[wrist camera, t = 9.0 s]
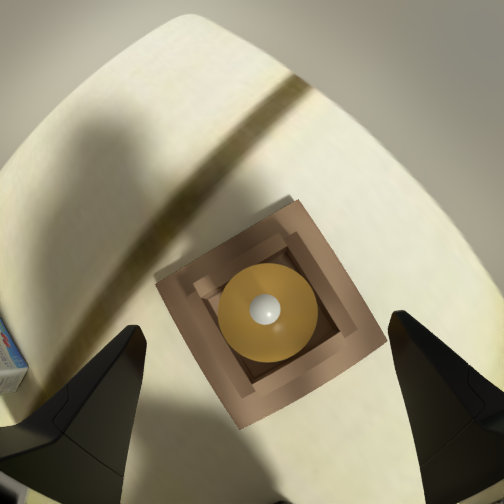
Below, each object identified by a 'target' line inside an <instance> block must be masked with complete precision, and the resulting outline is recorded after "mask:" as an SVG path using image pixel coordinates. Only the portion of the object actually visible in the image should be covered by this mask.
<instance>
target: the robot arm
mask: <svg viewBox="0 0 504 504" xmlns="http://www.w3.org/2000/svg"><path fill="white" fill-rule="evenodd" d="M388 335H389V340H390V345H391V350H392V356H393V361H394V366H395V371H396V374H397V378H398V381H399V385H400V388H401V392H402V395H403V399H404V403H405V406H406V410H407V414H408V418H409V422H410V426H411V430H412V434H413V438H414V443H415V447H416V452H417V457H418V461H419V466H420V472H421V478H422V483H423V489H424V495H425V501H426V504H457V503H459V504H504V392H503V391H502V390H500V389H499V388H498V387H496V386H495V385H494V384H492V383H491V382H490V381H488V380H487V379H486V378H484V377H483V376H482V375H481V374H480V373H479V372H477V371H476V370H475V369H474V368H473V367H472V366H470V365H468V363H467V362H466V361H465V360H463V359H462V358H461V357H460V356H459V355H458V354H457V353H455V352H454V351H453V350H452V349H451V348H450V347H448V346H447V345H446V344H445V343H444V342H442V341H441V340H440V339H439V338H438V337H436V336H435V335H434V334H433V333H432V332H430V331H429V330H428V329H427V328H426V327H424V326H423V325H422V324H421V323H420V322H418V321H417V320H416V319H415V318H413V317H412V316H411V315H410V314H409V313H407V312H406V311H404V310H398V311H394V312H393V313H392V316H391V319H390V323H389V326H388ZM146 348H147V342H146V339H145V337H144V334H143V332H142V330H141V328H140V326H138V325H128V326H126V327H125V328H124V329H123V330H122V331H121V332H120V333H119V334H118V335H117V336H116V337H115V338H113V339H112V340H111V341H110V342H109V343H108V344H107V345H106V346H105V347H104V348H103V349H102V350H101V351H100V352H99V353H98V354H96V355H95V356H94V357H93V358H92V359H91V360H90V361H89V362H88V363H87V364H86V365H85V366H84V367H83V368H82V369H81V370H80V371H79V372H78V373H77V374H76V375H75V376H73V377H72V378H71V379H70V380H69V381H68V384H67V383H66V384H65V385H64V386H63V387H62V388H61V389H60V390H59V391H58V392H57V393H56V394H55V395H54V396H52V397H51V398H50V399H49V400H48V401H47V402H45V403H44V404H43V405H42V406H41V407H39V408H38V409H37V410H36V411H35V412H33V413H32V414H31V415H30V416H28V417H27V418H26V419H25V420H23V421H22V422H20V423H18V424H16V425H13V426H6V427H0V504H120V500H121V493H122V486H123V479H124V478H123V477H124V472H125V466H126V460H127V454H128V448H129V443H130V438H131V432H132V427H133V422H134V417H135V413H136V408H137V403H138V399H139V394H140V390H141V385H142V380H143V372H144V363H145V355H146ZM274 504H287V503H286V502H284V501H279V502H276V503H274Z"/></svg>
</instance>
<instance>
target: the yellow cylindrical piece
mask: <svg viewBox="0 0 504 504" xmlns="http://www.w3.org/2000/svg"><path fill="white" fill-rule="evenodd" d="M317 318H318V308H317V301H316V298H315V295H314V292H313V290H312V289H311V287H310V285H309V284H308V282H307V281H306V280H305V279H304V278H303V277H302V276H301V275H300V274H298V273H297V272H296V271H294V270H292V269H290V268H288V267H286V266H283V265H279V264H273V263H264V264H257V265H253V266H250V267H248V268H246V269H244V270H242V271H241V272H239V273H238V274H236V275H235V276H234V277H233V278H232V279H231V280H230V281H229V282H228V284H227V285H226V287H225V288H224V290H223V292H222V294H221V297H220V300H219V305H218V321H219V326H220V329H221V332H222V334H223V336H224V338H225V339H226V341H227V342H228V344H229V345H230V346H231V347H232V348H233V349H234V350H235V351H236V352H238V353H239V354H241V355H242V356H244V357H246V358H248V359H251V360H254V361H259V362H277V361H281V360H284V359H287V358H289V357H291V356H293V355H295V354H296V353H297V352H299V351H300V350H301V349H302V348H303V347H304V346H305V345H306V344H307V343H308V341H309V340H310V338H311V337H312V335H313V333H314V330H315V327H316V324H317Z"/></svg>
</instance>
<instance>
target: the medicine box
mask: <svg viewBox="0 0 504 504" xmlns="http://www.w3.org/2000/svg"><path fill="white" fill-rule="evenodd" d="M27 370H28V365H27V364H26V362H25V361H24V359H23V358H22V356H21V354H20V353H19V351H18V349H17V348H16V346H15V344H14V343H13V341H12V339H11V337H10V336H9V334H8V332H7V330H6V328H5V326H4V324H3V322H2V320H1V318H0V395H2V394H8V393H13V392H16V390H17V388H18V386H19V384H20V382H21V381H22V379H23V377H24V375H25V374H26V372H27Z"/></svg>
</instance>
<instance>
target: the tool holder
mask: <svg viewBox="0 0 504 504" xmlns="http://www.w3.org/2000/svg"><path fill="white" fill-rule="evenodd" d="M264 263H273V264H279V265H283V266H286V267H288V268H290V269H292V270H294V271H296V272H297V273H298V274H300V275H301V276H302V277H303V278H304V279H305V280H306V281H307V282H308V284H309V285H310V287H311V289H312V290H313V292H314V295H315V298H316V301H317V308H318V318H317V324H316V327H315V330H314V333H313V335H312V337H311V338H310V340H309V341H308V343H307V344H306V345H305V346H304V347H303V348H302V349H301V350H300V351H299V352H297V353H296V354H295V355H293V356H291V357H289V358H287V359H284V360H281V361H277V362H259V361H254V360H251V359H248V358H246V357H244V356H242V355H241V354H239V353H238V352H236V351H235V350H234V349H233V348H232V347H231V346H230V345H229V344H228V342H227V341H226V339H225V338H224V336H223V334H222V332H221V329H220V326H219V321H218V305H219V300H220V297H221V294H222V292H223V290H224V288H225V287H226V285H227V284H228V282H229V281H230V280H231V279H232V278H233V277H234V276H235V275H236V274H238V273H239V272H241V271H242V270H244V269H246V268H248V267H250V266H253V265H257V264H264ZM155 285H156V287H157V289H158V291H159V293H160V295H161V297H162V299H163V301H164V303H165V305H166V307H167V309H168V311H169V313H170V314H171V316H172V318H173V320H174V322H175V324H176V326H177V328H178V329H179V331H180V333H181V335H182V337H183V339H184V340H185V342H186V344H187V346H188V347H189V349H190V351H191V353H192V354H193V356H194V358H195V360H196V361H197V363H198V365H199V367H200V368H201V370H202V372H203V373H204V375H205V377H206V378H207V380H208V382H209V383H210V385H211V386H212V388H213V390H214V391H215V393H216V394H217V396H218V398H219V399H220V401H221V402H222V404H223V405H224V407H225V409H226V410H227V412H228V413H229V415H230V416H231V418H232V419H233V421H234V422H235V424H236V425H237V427H238V428H239V430H240V429H242V428H244V427H246V426H248V425H251V424H253V423H255V422H257V421H259V420H261V419H263V418H265V417H267V416H268V415H270V414H272V413H274V412H276V411H278V410H280V409H282V408H284V407H285V406H287V405H289V404H291V403H293V402H294V401H296V400H298V399H300V398H302V397H303V396H305V395H307V394H308V393H310V392H312V391H314V390H315V389H317V388H319V387H320V386H322V385H323V384H325V383H327V382H328V381H330V380H331V379H333V378H335V377H336V376H338V375H339V374H341V373H342V372H344V371H345V370H347V369H349V368H350V367H352V366H353V365H355V364H356V363H357V362H359V361H360V360H362V359H363V358H365V357H366V356H368V355H369V354H370V353H372V352H373V351H375V350H376V349H377V348H379V347H380V346H382V345H383V344H384V343H386V342H387V339H386V337H385V335H384V334H383V332H382V330H381V328H380V327H379V325H378V323H377V321H376V320H375V318H374V316H373V315H372V313H371V311H370V310H369V308H368V306H367V304H366V303H365V301H364V299H363V298H362V296H361V295H360V293H359V291H358V290H357V288H356V286H355V285H354V283H353V281H352V280H351V278H350V277H349V275H348V273H347V272H346V270H345V269H344V267H343V266H342V264H341V262H340V261H339V259H338V258H337V256H336V255H335V253H334V251H333V250H332V248H331V247H330V245H329V244H328V242H327V241H326V239H325V238H324V236H323V235H322V233H321V232H320V230H319V229H318V227H317V226H316V224H315V223H314V221H313V220H312V218H311V217H310V215H309V214H308V212H307V211H306V210H305V208H304V207H303V205H302V204H301V202H300V201H299V199H298V200H296V201H294V202H293V203H291V204H289V205H287V206H286V207H284V208H282V209H281V210H279V211H277V212H275V213H274V214H272V215H270V216H269V217H267V218H265V219H263V220H262V221H260V222H258V223H257V224H255V225H253V226H251V227H250V228H248V229H246V230H245V231H243V232H241V233H240V234H238V235H236V236H234V237H233V238H231V239H229V240H228V241H226V242H224V243H223V244H221V245H219V246H218V247H216V248H214V249H213V250H211V251H209V252H208V253H206V254H204V255H203V256H201V257H199V258H198V259H196V260H194V261H193V262H191V263H189V264H188V265H186V266H184V267H183V268H181V269H180V270H178V271H176V272H175V273H173V274H171V275H170V276H168V277H166V278H165V279H163V280H162V281H160V282H158V283H157V284H155Z"/></svg>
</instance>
